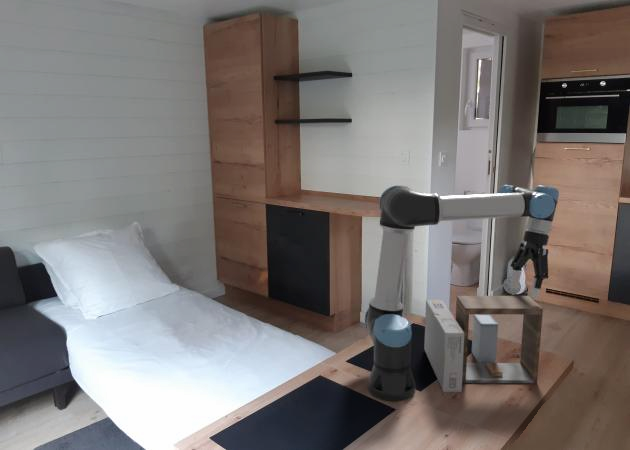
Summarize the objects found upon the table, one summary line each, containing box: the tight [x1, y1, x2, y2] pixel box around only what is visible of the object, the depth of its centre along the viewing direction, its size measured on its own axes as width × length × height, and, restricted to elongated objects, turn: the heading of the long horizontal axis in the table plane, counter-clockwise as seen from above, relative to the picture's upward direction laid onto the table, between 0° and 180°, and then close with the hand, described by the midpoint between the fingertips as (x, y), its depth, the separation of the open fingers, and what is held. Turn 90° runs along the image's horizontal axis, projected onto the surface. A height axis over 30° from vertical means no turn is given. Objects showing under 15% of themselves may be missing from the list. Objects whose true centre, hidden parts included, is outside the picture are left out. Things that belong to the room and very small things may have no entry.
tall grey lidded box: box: [471, 314, 499, 363], centre depth 178 cm, size 6×9×15 cm, turn 178°
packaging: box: [423, 299, 464, 393], centre depth 170 cm, size 30×6×20 cm, turn 179°
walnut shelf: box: [455, 295, 544, 384], centre depth 165 cm, size 24×12×26 cm, turn 88°
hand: (522, 293), depth 166 cm, fingers open, 13 cm apart
